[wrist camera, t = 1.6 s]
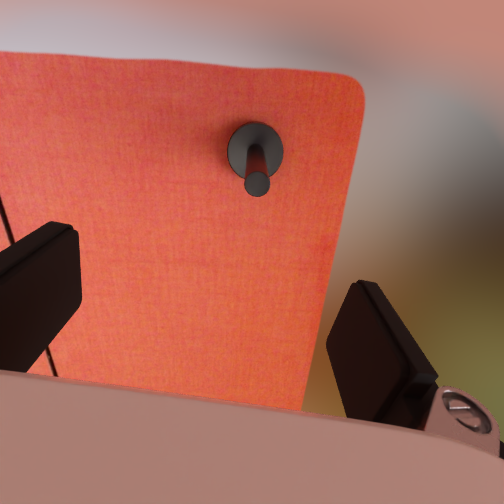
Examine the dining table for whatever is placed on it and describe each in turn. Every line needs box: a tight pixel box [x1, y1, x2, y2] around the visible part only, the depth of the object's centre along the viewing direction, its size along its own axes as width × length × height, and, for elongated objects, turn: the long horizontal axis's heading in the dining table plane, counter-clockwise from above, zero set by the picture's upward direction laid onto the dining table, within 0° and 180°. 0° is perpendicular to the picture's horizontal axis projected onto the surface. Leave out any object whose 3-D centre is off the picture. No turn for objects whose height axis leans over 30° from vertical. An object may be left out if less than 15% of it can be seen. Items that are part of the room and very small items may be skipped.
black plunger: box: [227, 122, 283, 197], centre depth 27 cm, size 6×6×14 cm
